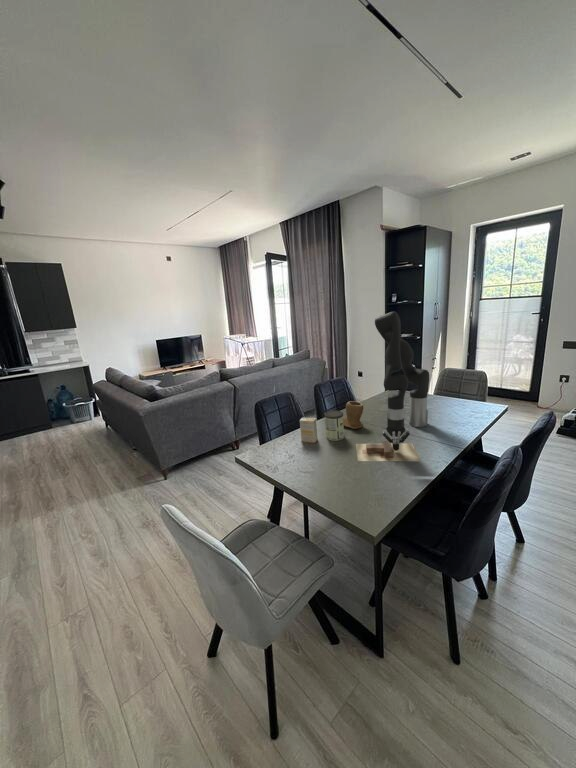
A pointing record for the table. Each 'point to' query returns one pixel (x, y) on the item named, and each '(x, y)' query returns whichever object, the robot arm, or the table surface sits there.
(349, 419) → the terracotta vase
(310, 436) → the supplement box
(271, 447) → the table surface
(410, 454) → the board
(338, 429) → the coffee can
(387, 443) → the t block
